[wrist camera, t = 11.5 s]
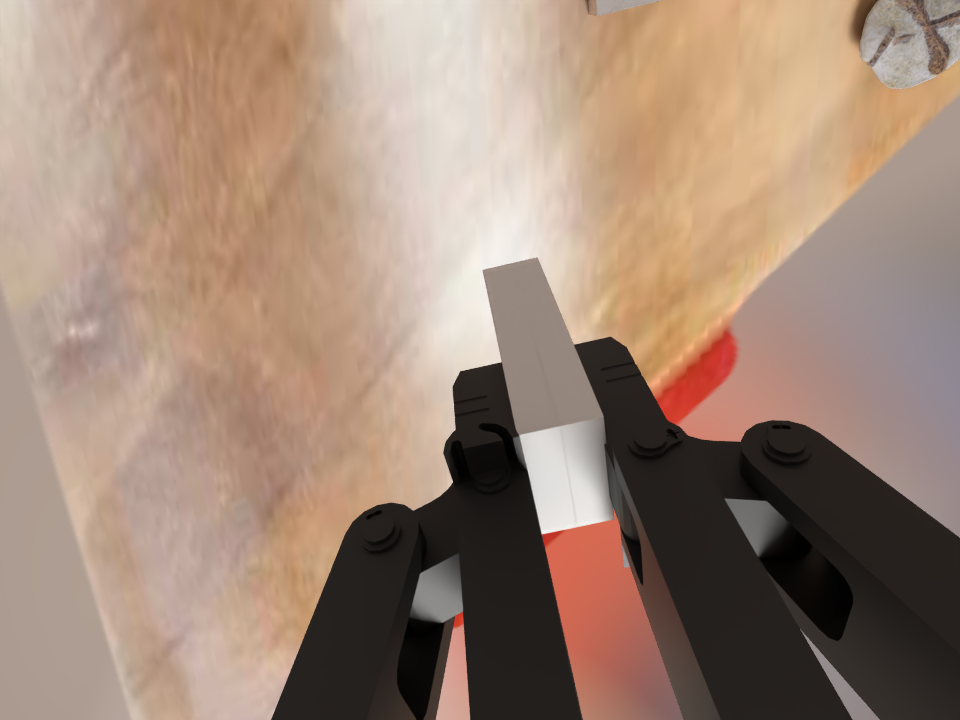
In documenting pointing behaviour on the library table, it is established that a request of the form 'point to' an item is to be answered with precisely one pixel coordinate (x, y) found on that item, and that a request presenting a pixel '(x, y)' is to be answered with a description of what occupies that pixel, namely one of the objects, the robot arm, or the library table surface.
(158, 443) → the library table surface
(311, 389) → the library table surface
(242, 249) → the library table surface
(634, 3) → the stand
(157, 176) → the library table surface
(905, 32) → the stone
